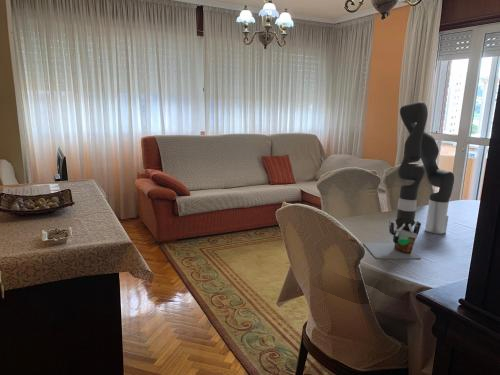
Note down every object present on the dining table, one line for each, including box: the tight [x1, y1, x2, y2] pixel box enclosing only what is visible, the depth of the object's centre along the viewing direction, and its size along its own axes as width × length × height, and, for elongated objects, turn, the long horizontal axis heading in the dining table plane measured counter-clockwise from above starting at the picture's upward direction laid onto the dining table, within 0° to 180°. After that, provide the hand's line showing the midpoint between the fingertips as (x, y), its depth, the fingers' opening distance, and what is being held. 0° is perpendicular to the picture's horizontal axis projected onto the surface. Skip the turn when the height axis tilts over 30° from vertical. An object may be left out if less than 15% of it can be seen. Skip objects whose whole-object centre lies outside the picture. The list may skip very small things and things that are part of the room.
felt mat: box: [362, 242, 422, 260], centre depth 170 cm, size 20×17×1 cm
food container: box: [394, 228, 418, 254], centre depth 169 cm, size 12×6×10 cm, turn 5°
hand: (402, 243), depth 169 cm, fingers open, 6 cm apart
